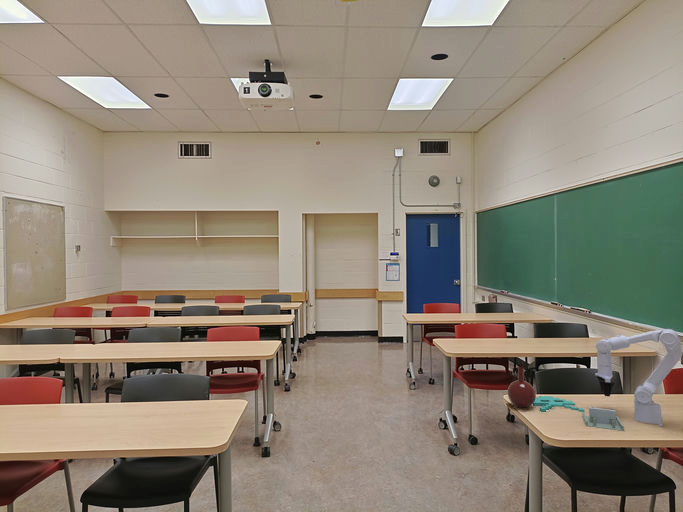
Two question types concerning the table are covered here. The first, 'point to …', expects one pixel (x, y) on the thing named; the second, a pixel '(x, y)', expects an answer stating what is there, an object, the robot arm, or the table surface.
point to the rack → (611, 426)
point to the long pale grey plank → (602, 415)
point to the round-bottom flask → (521, 391)
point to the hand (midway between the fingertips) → (605, 393)
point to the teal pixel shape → (554, 403)
